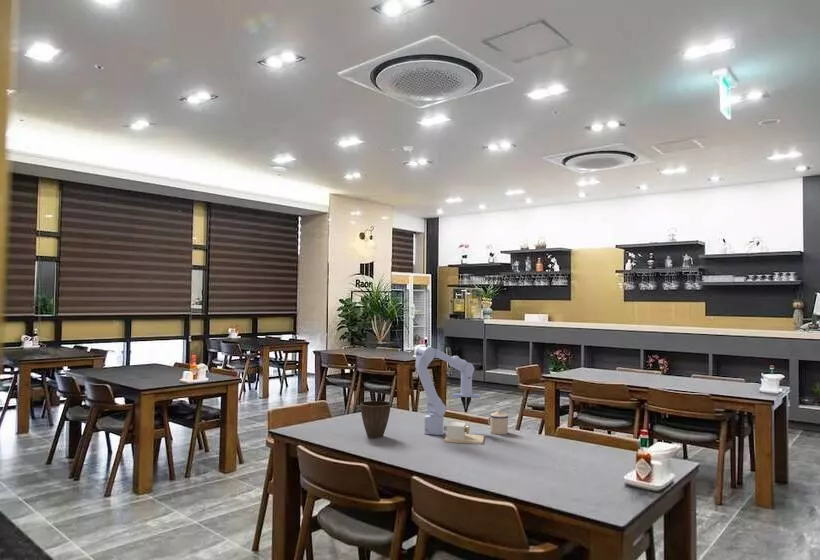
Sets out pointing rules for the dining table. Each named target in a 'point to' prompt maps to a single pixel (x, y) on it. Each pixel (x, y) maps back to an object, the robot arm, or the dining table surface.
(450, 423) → the bearing block
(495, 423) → the teacup with lid
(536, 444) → the dining table surface
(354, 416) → the dining table surface
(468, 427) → the shaft
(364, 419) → the plant pot
